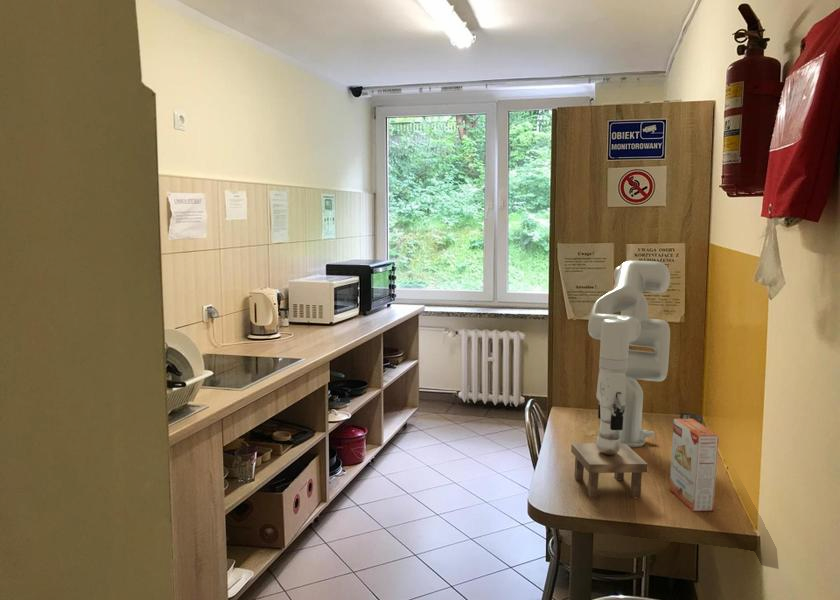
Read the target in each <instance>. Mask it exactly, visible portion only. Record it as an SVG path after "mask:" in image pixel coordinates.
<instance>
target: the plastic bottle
mask: <svg viewBox="0 0 840 600" xmlns="http://www.w3.org/2000/svg"><path fill="white" fill-rule="evenodd" d="M614 404H619V403H618V402H614ZM599 405H600V412H601V418H600V419H599V420H600V423H599V430H598V435H597V437H596V442H595V443H596V446H597V449H598V451H599V452H601V453H603V454H607V455H615V454H617V453H618V452H619V449H620V430H611V429H610V426H611V415H613V414H612V409H611V406H610V407H606V406H605V405H604V403H603V400H602V399H601V400H600V404H599ZM616 410H617V408H615V411H616Z"/></svg>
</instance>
